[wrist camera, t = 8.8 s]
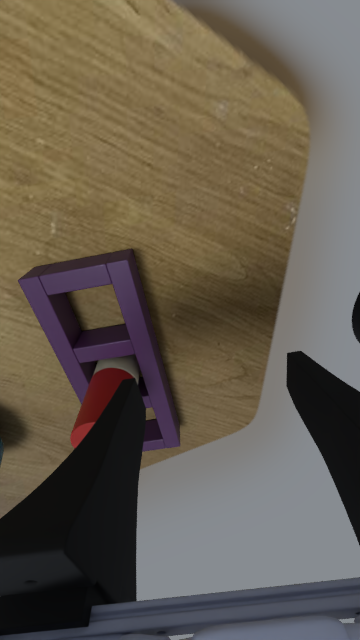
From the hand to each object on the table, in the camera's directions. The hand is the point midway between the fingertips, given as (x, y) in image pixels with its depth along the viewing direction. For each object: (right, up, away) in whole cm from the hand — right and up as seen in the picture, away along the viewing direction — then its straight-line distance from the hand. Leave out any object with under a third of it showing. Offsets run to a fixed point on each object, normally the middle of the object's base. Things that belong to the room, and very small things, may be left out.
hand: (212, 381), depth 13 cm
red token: (-7, -2, +8) cm, 11 cm away
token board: (-7, -1, +11) cm, 13 cm away
